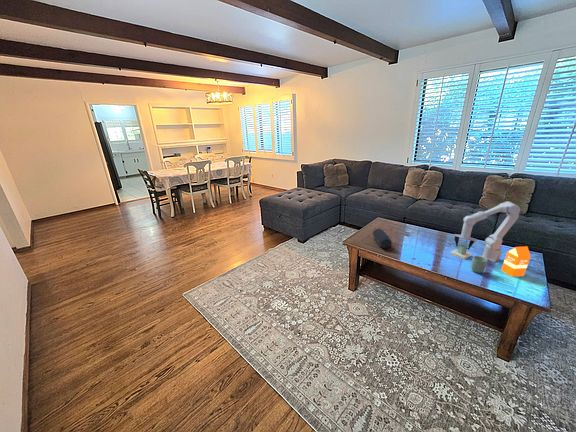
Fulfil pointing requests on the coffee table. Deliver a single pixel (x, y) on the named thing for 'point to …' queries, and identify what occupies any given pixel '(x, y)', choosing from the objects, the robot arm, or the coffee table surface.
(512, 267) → the orange juice
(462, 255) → the tray
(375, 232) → the portable speaker
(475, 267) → the cup
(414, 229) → the coffee table surface
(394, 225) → the coffee table surface
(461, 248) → the block
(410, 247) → the coffee table surface
